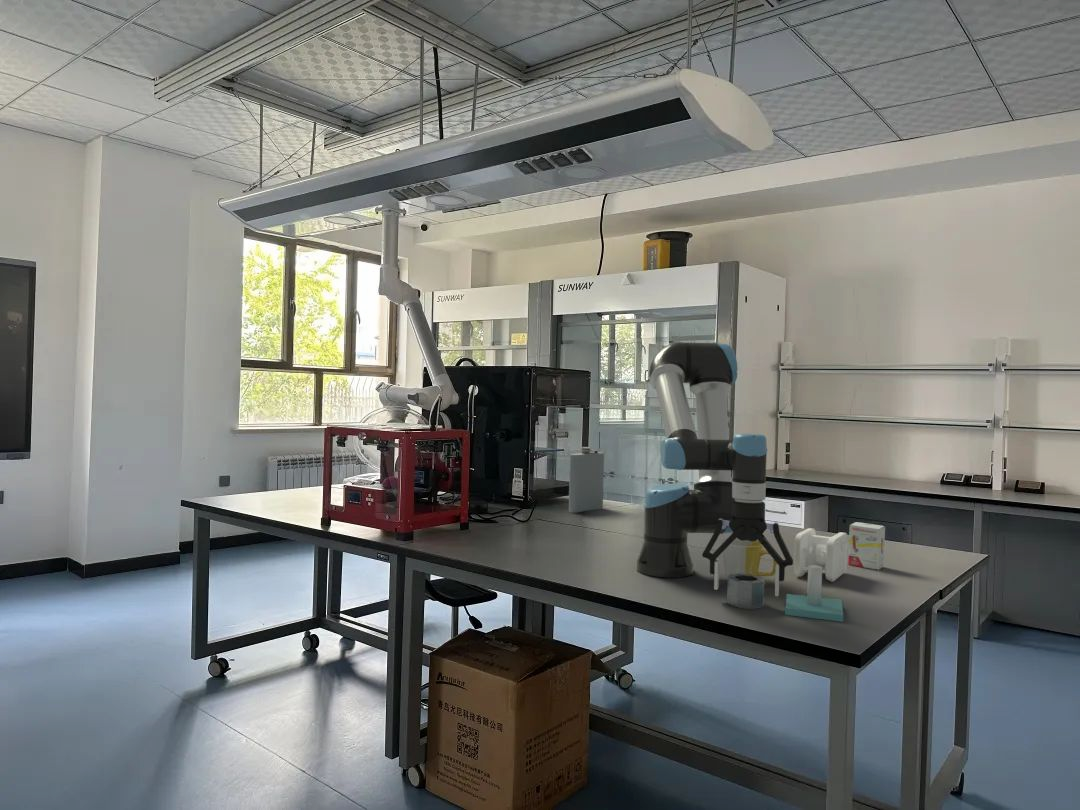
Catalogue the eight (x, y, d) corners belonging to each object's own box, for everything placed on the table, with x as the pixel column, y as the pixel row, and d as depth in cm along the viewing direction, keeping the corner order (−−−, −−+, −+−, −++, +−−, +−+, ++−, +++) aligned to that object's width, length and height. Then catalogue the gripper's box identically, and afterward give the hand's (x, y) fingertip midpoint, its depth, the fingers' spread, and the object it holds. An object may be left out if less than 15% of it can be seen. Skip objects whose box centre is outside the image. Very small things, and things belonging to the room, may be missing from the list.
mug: (714, 582, 191) (716, 542, 191) (728, 574, 200) (729, 535, 199) (768, 592, 183) (769, 549, 183) (779, 583, 192) (781, 542, 192)
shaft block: (785, 614, 166) (786, 570, 165) (786, 600, 177) (788, 558, 176) (843, 621, 161) (844, 576, 161) (841, 606, 173) (842, 563, 172)
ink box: (847, 564, 213) (848, 523, 213) (852, 561, 217) (854, 521, 216) (878, 570, 207) (880, 528, 207) (884, 567, 211) (885, 525, 211)
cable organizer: (809, 567, 209) (810, 526, 209) (848, 573, 203) (850, 531, 203) (792, 578, 197) (794, 534, 197) (834, 585, 191) (835, 540, 191)
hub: (725, 606, 171) (726, 580, 171) (729, 596, 178) (730, 572, 178) (762, 610, 168) (762, 584, 168) (764, 600, 176) (764, 575, 175)
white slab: (596, 506, 302) (597, 445, 302) (604, 508, 299) (605, 446, 298) (565, 511, 291) (566, 447, 290) (573, 513, 287) (575, 448, 287)
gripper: (691, 498, 173) (689, 589, 173) (805, 506, 165) (802, 601, 165) (696, 494, 180) (694, 582, 180) (805, 501, 172) (803, 593, 172)
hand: (746, 591), depth 173 cm, fingers open, 13 cm apart
